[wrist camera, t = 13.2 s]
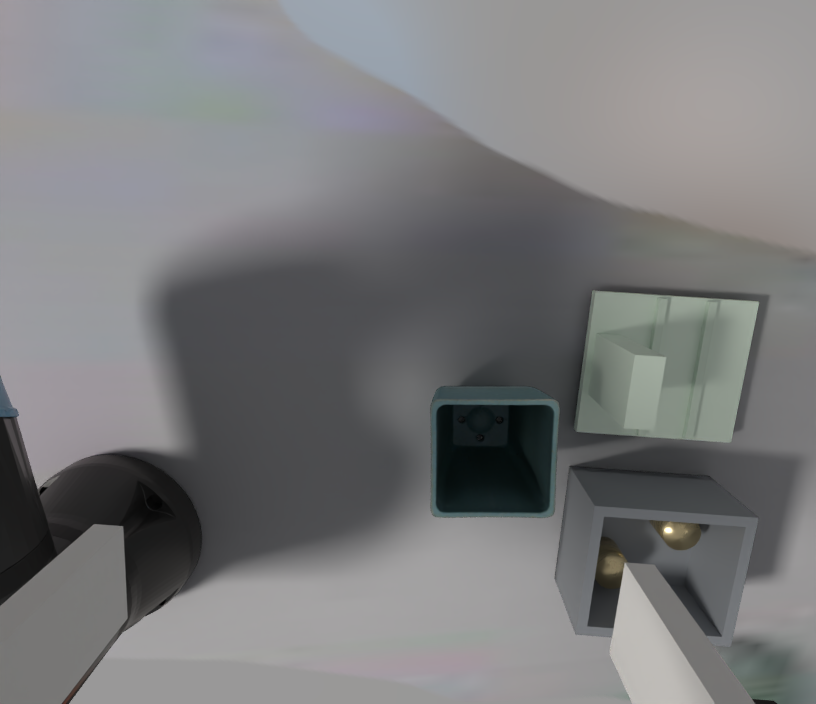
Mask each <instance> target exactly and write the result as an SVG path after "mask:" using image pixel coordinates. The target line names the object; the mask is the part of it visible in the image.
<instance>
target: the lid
mask: <svg viewBox="0 0 816 704" xmlns="http://www.w3.org/2000/svg"><path fill="white" fill-rule="evenodd" d="M758 306H759V302H757V301H750V300H734V299H719V298H703V297H688V296H672V295H657V294H642V293H626V292H611V291H595V290H592V297H591V305H590V312H589V319H588V327H587V334H586V342H585V349H584V357H583V364H582V371H581V379H580V386H579V394H578V401H577V409H576V416H575V424H574V429H575V431H576V432H584V433H598V434H612V435H626V436H640V437H654V438H669V439H683V440H697V441H711V442H725V443H731V440H732V435H733V430H734V425H735V420H736V415H737V410H738V405H739V400H740V395H741V391H742V386H743V381H744V376H745V371H746V366H747V361H748V356H749V351H750V346H751V341H752V336H753V331H754V326H755V321H756V316H757V311H758Z"/></svg>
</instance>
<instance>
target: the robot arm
mask: <svg viewBox="0 0 816 704" xmlns="http://www.w3.org/2000/svg"><path fill="white" fill-rule="evenodd" d="M17 416H19V414H18V411H17V409H15V408H13V407H12V405H11V402H10V400H9V397H8V395H7V392H6V390H5V387H4V384H3V382H2V379H1V376H0V704H69V703H70V701H71V700H72V699H73V697H74V696H75V695H76V693H77V692H78V691H79V689H80V688H81V687H82V685H83V684H84V682H85V681H86V680H87V678H88V677H89V676H90V675H91V673H92V672H93V670H94V669H95V668H96V666H97V665H98V664H99V662H100V661H101V660H102V658H103V657H104V656H105V654H106V653H107V652H108V650H109V649H110V648H111V646H112V645H113V644H114V643H115V641H116V640H117V639H118V638H119V636H120V635H121V634H122V632H124V631H126V630H127V629H129V628H130V627H132V626H133V625H135V624H136V623H137V622H139V621H140V620H141V619H142V618H143V617H144V616H147V615H149V614H151V613H153V612H155V611H156V610H158V609H160V608H161V607H163V606H164V605H165V604H167V603H168V602H169V601H170V600H171V599H172V598H173V597H174V596H175V595H176V594H177V593H178V592H179V591H180V589H181V588H182V587H183V585H184V584H185V582H186V581H187V580H188V578H189V577H190V575H191V574H192V572H193V570H194V569H195V567H196V564H197V562H198V559H199V555H200V551H201V528H200V523H199V520H198V516H197V514H196V511H195V509H194V507H193V505H192V503H191V501H190V499H189V498H188V496H187V495H186V494H185V492H184V491H183V490H182V489H181V487H180V486H179V485H178V484H177V483H176V482H175V481H174V480H173V479H171V478H170V477H169V476H168V475H167V474H165V473H164V472H162V471H161V470H159V469H158V468H156V467H154V466H152V465H150V464H148V463H146V462H143V461H141V460H138V459H135V458H131V457H126V456H120V455H99V456H93V457H89V458H85V459H82V460H80V461H77V462H75V463H73V464H71V465H70V466H68V467H66V468H65V469H63V470H62V471H60V472H58V473H57V474H55V475H54V476H52V477H51V478H50V479H48V480H47V481H46V482H45V483H44V484H43V485H42V486H41V487H40V488H39V489H37V486H36V483H35V480H34V476H33V473H32V469H31V466H30V463H29V459H28V456H27V452H26V449H25V445H24V442H23V438H22V435H21V432H20V428H19V425H18V421H17V418H16V417H17ZM609 654H610V656H611V658H612V660H613V662H614V665H615V667H616V669H617V671H618V673H619V675H620V678H621V680H622V682H623V684H624V686H625V688H626V691H627V693H628V695H629V697H630V699H631V701H632V704H777V703H776V702H774V701H769V700H756V699H751V697H750V696H749V694H748V693H747V692H746V690H745V689H744V687H743V686H742V685H741V683H740V682H739V681H738V679H737V678H736V676H735V675H734V674H733V672H732V671H731V670H730V668H729V667H728V665H727V664H726V663H725V661H724V660H723V659H722V657H721V656H720V654H719V653H718V652H717V650H716V649H715V648H714V646H713V645H712V643H711V642H710V641H709V639H708V638H707V637H706V635H705V634H704V632H703V631H702V630H701V628H700V627H699V625H698V624H697V623H696V621H695V620H694V619H693V617H692V616H691V614H690V613H689V612H688V610H687V609H686V608H685V606H684V605H683V603H682V602H681V601H680V599H679V598H678V597H677V595H676V594H675V592H674V591H673V590H672V588H671V587H670V586H669V584H668V583H667V581H666V580H665V579H664V577H663V576H662V575H661V573H660V572H659V570H658V569H657V568H656V566H655V565H653V564H639V563H625V564H624V570H623V576H622V582H621V588H620V594H619V600H618V606H617V612H616V618H615V623H614V629H613V635H612V641H611V647H610V653H609Z"/></svg>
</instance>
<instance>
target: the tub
mask: <svg viewBox="0 0 816 704" xmlns="http://www.w3.org/2000/svg"><path fill="white" fill-rule="evenodd" d="M649 520H657V521H671V522H684V523H698V524H699V526H700V528H701V537H700V539H699V541H698V542H697V544H696V545H695V546H693V547H692V548H690V549H687V550H674V549H672V548H670V547H669V546H668V545H667V544H666V543H665V542H664V540H663V539H662V538H661V537H660V535H659V534H658V533H657V531H656V530H655V529H654V528H653V526H652V525H651V524H650V522H649ZM758 520H759V518H758V517H757V516H756V515H755V514H754V513H752V512H751V511H750V510H749V509H748V508H746V507H745V506H744V505H743V504H742V503H740V502H739V501H738V500H737V499H736V498H735V497H733V496H732V495H731V494H730V493H729V492H727V491H726V490H725V489H724V488H723V487H721V486H720V485H719V484H718V483H717V482H715V481H714V480H713V479H712V478H711V477H710V476H698V475H684V474H670V473H656V472H642V471H629V470H615V469H601V468H587V467H573V466H570V468H569V475H568V483H567V490H566V498H565V505H564V513H563V520H562V527H561V535H560V542H559V550H558V557H557V564H556V572H555V581H556V584H557V586H558V589H559V592H560V594H561V597H562V600H563V602H564V605H565V608H566V610H567V613H568V616H569V618H570V621H571V623H572V626H573V629H574V631H575V634H576V635H588V636H601V637H612V635H613V629H614V623H615V618H616V612H617V606H618V600H619V594H620V588H621V587H620V588H617V589H607V588H604V587H602V586H601V585H600V584H598V582H597V581H596V579H595V573H596V566H597V559H598V553H599V546H600V540H601V537H608V538H610V539H612V540H613V541H614V542H615V543H616V544H617V546H618V547H619V549H620V550H621V552H622V554H623V555H624V557H625V558H626V560H627V562H628V563H639V564H653V565H655V566H656V568H657V569H658V570H659V572H660V573H661V575H662V576H663V577H664V579H665V580H666V581H667V583H668V584H669V586H670V587H671V588H672V590H673V591H674V592H675V594H676V595H677V597H678V598H679V599H680V601H681V602H682V603H683V605H684V606H685V608H686V609H687V610H688V612H689V613H690V614H691V616H692V617H693V619H694V620H695V621H696V623H697V624H698V625H699V627H700V628H701V630H702V631H703V632H704V634H705V635H706V637H707V638H708V639H709V641H710V642H711V643H712V645H715V646H728V647H731V643H732V638H733V634H734V629H735V625H736V620H737V615H738V611H739V606H740V602H741V597H742V593H743V588H744V584H745V579H746V575H747V570H748V565H749V561H750V556H751V552H752V547H753V543H754V538H755V534H756V529H757V525H758Z"/></svg>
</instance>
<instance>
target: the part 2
mask: <svg viewBox="0 0 816 704" xmlns="http://www.w3.org/2000/svg"><path fill="white" fill-rule="evenodd" d="M649 522H650V524H651V525H652V526H653V528H654V529H655V530H656V531H657V533H658V534H659V535H660V537H661V538H662V539H663V540H664V542H665V543H666V544H667V545H668V546H669V547H670V548H672V549H674V550H687V549H690V548H692V547H693V546H695V545H696V544H697V542H698V541H699V539H700V537H701V528H700V526H699V524H698V523H684V522H671V521H657V520H649Z"/></svg>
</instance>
